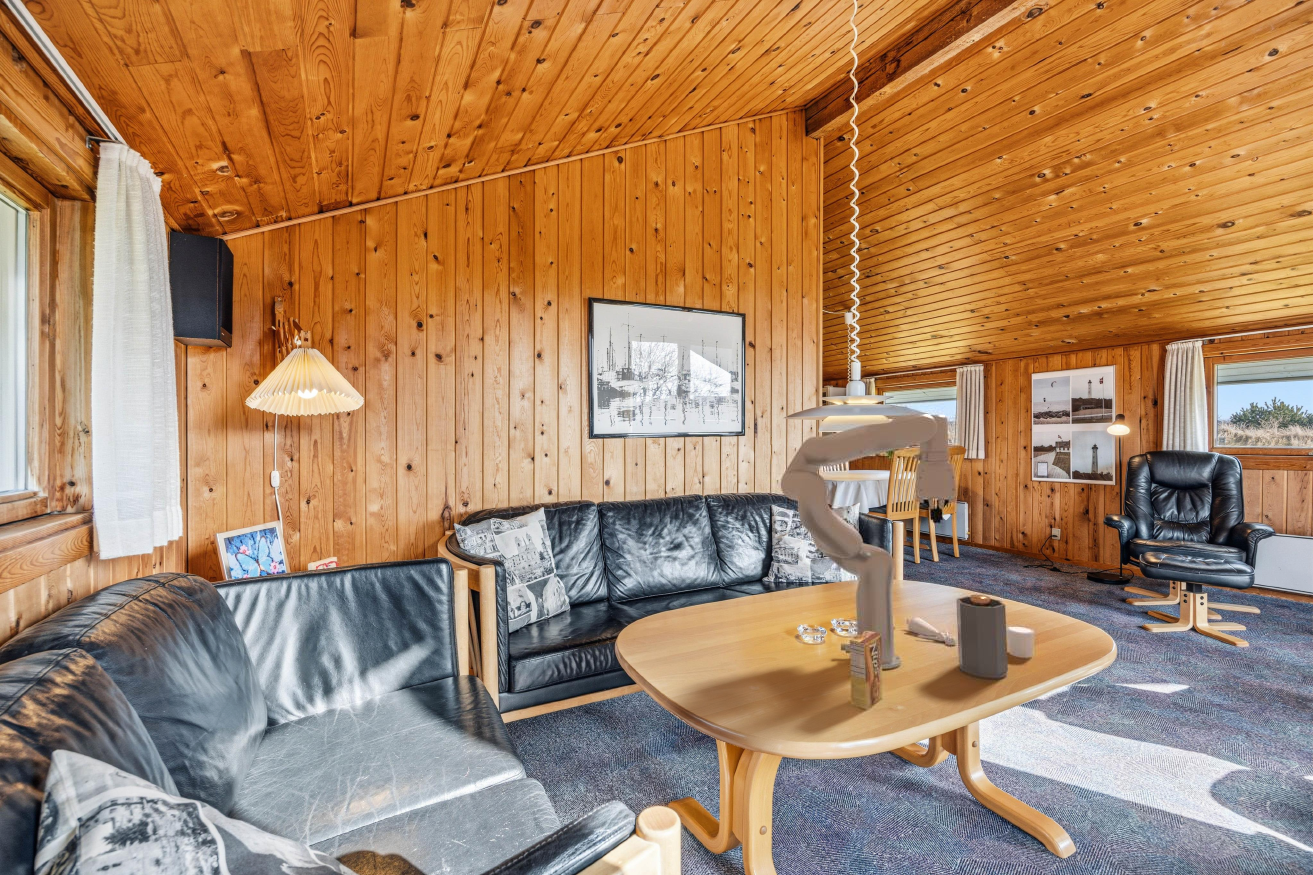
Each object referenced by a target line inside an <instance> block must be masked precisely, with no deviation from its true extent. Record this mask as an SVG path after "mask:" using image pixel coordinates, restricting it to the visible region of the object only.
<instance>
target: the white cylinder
mask: <svg viewBox="0 0 1313 875" xmlns="http://www.w3.org/2000/svg"><path fill="white" fill-rule="evenodd" d="M1006 638H1007V648H1008V654H1009V655H1011V656H1013V657H1016V658H1021V659H1031V658H1033V657H1034V647H1035V646H1034V645H1035V630H1034V629H1032V628H1029V627H1026V626H1021V625H1009V626H1006Z"/></svg>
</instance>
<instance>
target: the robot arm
mask: <svg viewBox="0 0 1313 875" xmlns="http://www.w3.org/2000/svg"><path fill="white" fill-rule="evenodd" d="M948 426H949V424H948V418H947V416H946V415H944V414H926V413H913V414H905V415H899V416H897V417H894V418H893V419H892V420H891V421H890V422H884V423H883V422H882V423H870V424H866V425H859V426H856V427H853V428H848V429H846V430H843V431H839V432H835V433H831V434H828V435H821V436H811V437H808V438H807V439H806V440H805V441H804V442H803V443H802V444H801V445H800V447H799V448H798V450H797V452H796V453H795V455H794V456H793V458H792V460H791V462H790V463H789V464H788V466H787V468H786V470H785V471H784V473H783V475H782V477H781V479H780V488H781V489H780V490H781V492H782V494H783V495H784V496H785V497H786V498H788V499H790V500H792V501H797V512H798V517H799V521H800V523H801V524H802V526H803V527H804V529H805V530H806V531H808V532H809V534H811V535H812V540H813V544H814V545H815V546H816V549H818V551H819V552H821V553H822V554H823V555H824V556H826V557H827V558H828V559H829V560H831V561H832V562H833V563H835V564H836V565H837V566H839V568H841V569H843V570H844V571H845V572H847V573H848V574H851V575H853V576H856V577H859V581H858V584H857V587H856V593H855V605H856V606H855V608H856V609H855V610H856V636H857V635H859V634H861V633H862V632H864V631H871V632H876V633H880V634H881V648H882V670H888V669H894V668H897V667H899V666H900V665H901V664H902V659H901V657H900V655H898V654H896V653H895V638H894V637H895V636H894V635H895V634H894V630H895V629H894V611H893V610H894V607H893V606H894V605H893V602H894V601H893V585H894V579H895V572H896V565H895V560H894V558H893V557H892V555H891V553H890V552H889V551H887V550H886V549H883V548H881V547H879V546H875V545H873V544H867V543H864V541H863V538H862V535H861V533H859V531H858V530H857V529H855V528H854V527H853V526H852V525H850V523H848V522H846V521H845V520H844V519H843V518H841V517H840V516H839V515H838V514H837V513H836V512H835V511H833V510H832V509H831V508H830V506H829V503H828V498H827V497H828V486H827V482H826V480H825V478H824V477H823V476H822V475H821V474H819V473H818V472H819V470H820V468H821V467H828V468H829V467H834V466H838V465H841V464H845V463H849V462H852V461H855V460H858V459H859V460H860V459H862V458H865V457H870V456H875V455H878V454H882V453H887V452H889V451H894V450H900V449H903V448H904V449H905V448H907V447H913V446H915V445H918V444H919V445H918V448H919V453H917V454H914V456H913V458H914V460H918V461H919V462H918V463H917V466H916V471H915V472H916V473H915V499H914V500H915V501H916V502H917V503H921V504H925V505H926V506H927V507H928V508H929V516H930V518H929V519H930V521H932V523H934V524H941V521H943V519H944V518H943V515H944V514H943V509H944V508H945V506H947V505H948V504H950V503H955V502H957V500H958V499H957V482H956V475H955V469H954V464H953V462H950V456H949V454H950V453H949V452H950V451H949V427H948ZM934 499H937V505H936V506H935V503H934ZM840 651H845V653H846V654H850V643H842V642H841V643H840Z"/></svg>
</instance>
